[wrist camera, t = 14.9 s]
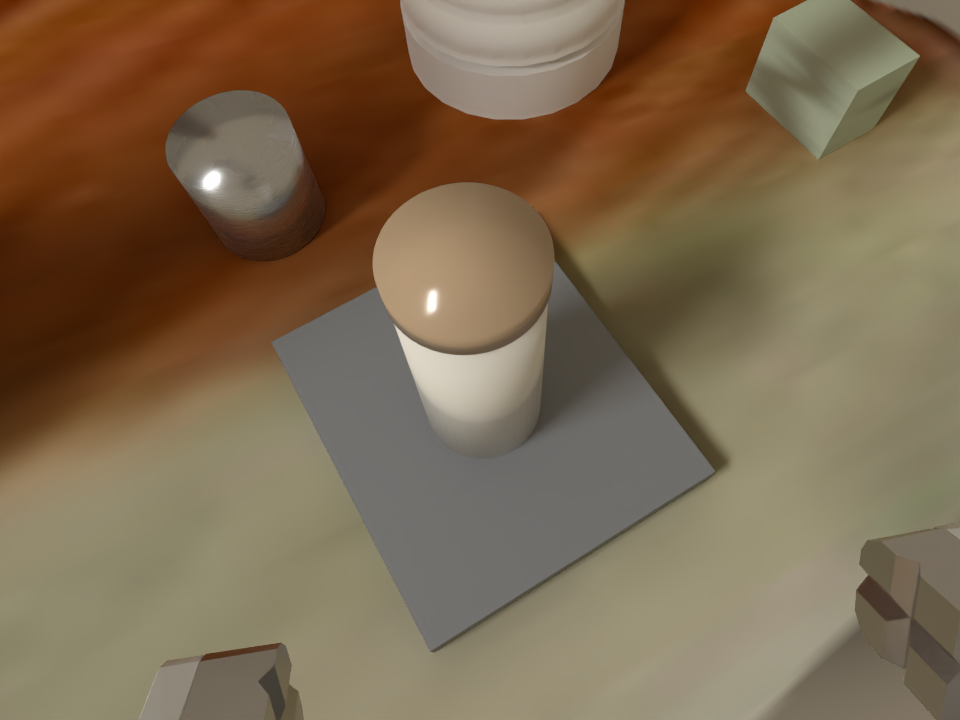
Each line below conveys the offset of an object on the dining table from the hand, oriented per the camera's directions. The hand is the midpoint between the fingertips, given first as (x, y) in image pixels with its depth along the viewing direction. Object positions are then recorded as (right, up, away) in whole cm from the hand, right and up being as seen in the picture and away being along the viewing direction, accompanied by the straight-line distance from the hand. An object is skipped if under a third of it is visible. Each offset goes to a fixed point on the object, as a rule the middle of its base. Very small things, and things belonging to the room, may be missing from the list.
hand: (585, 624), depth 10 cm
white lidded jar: (-1, +2, +22) cm, 22 cm away
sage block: (+17, +18, +30) cm, 39 cm away
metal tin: (-13, +12, +29) cm, 34 cm away
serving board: (-1, +1, +23) cm, 23 cm away
